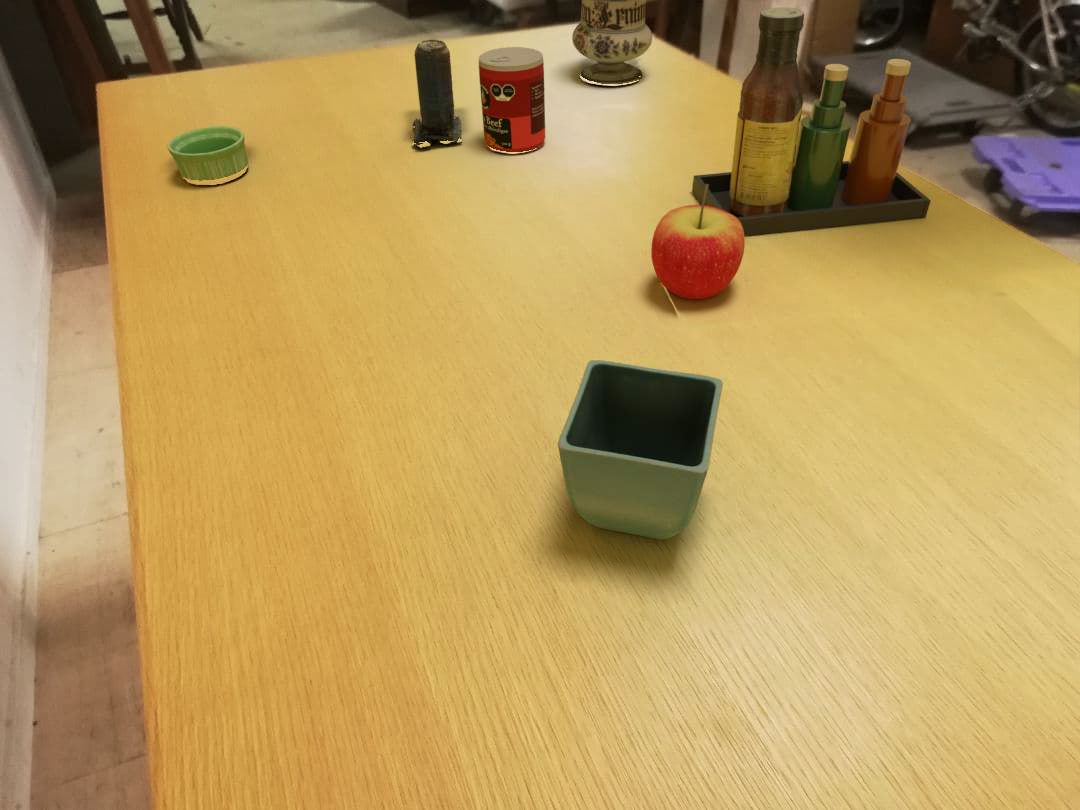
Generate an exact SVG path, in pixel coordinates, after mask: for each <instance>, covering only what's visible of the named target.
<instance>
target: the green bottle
mask: <svg viewBox="0 0 1080 810" xmlns="http://www.w3.org/2000/svg"><path fill="white" fill-rule="evenodd" d="M849 70H850V68H849V66H847V65H845V64H841V63H829V64H827V65H825V67H824V72H823V83H822V88H821V93H820V96H819V98H817V99H815V100H814V101H813V102H812V106H811V111H810V115H806V116H803V117H801V120H800V126H799V134H798V140H797V144H796V152H795V159H794V164H793V171H792V178H791V184H790V192H789V197H788V199H787V203H786V205H787V206H788V207H789V208H790V209H792V210H794V211H804V210H814V209H824V208H832V206H833V202H834V198H835V193H836V189H837V185H838V180H839V176H840V171H841V167H842V163H843V161H844V158H845V154H846V149H847V146H848V145H847V144H848V140H849V137H850V132H851V127H852V124H851V122H850V120H848V119H846V118H844V117H845V112H846V107H847V104H846V103H847V102H845V101H843V100H842V96H843V93H844V87H845V83H846V80H847V78H848V75H849Z"/></svg>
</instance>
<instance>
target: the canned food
mask: <svg viewBox="0 0 1080 810" xmlns="http://www.w3.org/2000/svg"><path fill="white" fill-rule="evenodd" d="M544 61H545V60H544V54H543V53H542V51H539V50H538V49H535V48H530V47H523V46H509V47H507V46H505V47H499V48H494V49H490V50H487V51H485V52H483V53H482V54H480V55H479V56H478V76H479V89H480V101H481V114H482V126H483V138H484V142H485V144H487V145H488V146H489V147H491V148H493V149H496V150H500V151H506V152H523V151H529V150H533V149H535V148H538V147H539V146H541V145H542V144H543V145H544V143H545V140H546V108H545V105H546V103H545V101H546V100H545V99H546V98H545V67H544V66H545V65H544V63H545V62H544ZM487 145H486V146H487ZM543 145H542V146H543ZM542 146H541V147H542Z"/></svg>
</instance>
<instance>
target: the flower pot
mask: <svg viewBox="0 0 1080 810" xmlns="http://www.w3.org/2000/svg"><path fill="white" fill-rule="evenodd" d="M722 391H723V380H722V379H720V378H716V377H713V376H709V375H703V374H696V373H690V372H679V371H673V370H666V369H660V368H653V367H647V366H639V365H635V364H629V363H622V362H616V361H609V360H603V359H592V360H589V361H588V362H587V364H586V366H585V370H584V371H583V375H582V378H581V380H580V383H579V387H578V388H577V393H576V395H575V398H574V400H573V402H572V406H571V408H570V410H569V413H568V416H567V418H566V421H565V424H564V425H563V428H562V430H561V433H560V434H559V437H558V441H557V448H558V452H559V453H558V454H559V458H560V465H561V468H562V476H563V481H564V485H565V489H566V493H567V496H568V499H569V501H570V503H571V505H572V506H573V508H574V510H575V511H576V512H577V513H578V515H579V516H581V518H583V520H585V521H586V522H588V523H589V524H591V525H592V526H593V527H595V528H599V529H604V530H608V531H612V532H613V531H614V532H620V533H625V534H630V535H635V536H639V535H640V536H639V537H644V538H650V539H653V540H659V541H662V540H667V539H670V538H672V537H675V536H677V535H678V534H679V533H681V532H682V531H683V530H684V529H685V528H686V527H687V526H688V525H689V524H690V522H691V521H692V519H693V516H694V514H695V512H696V509H697V506H698V503H699V499H700V496H701V493H702V490H703V488H704V484H705V481H706V477H707V474H708V471H709V468H710V465H711V456H712V449H713V443H714V437H715V429H716V424H717V419H718V418H717V417H718V412H719V407H720V402H721V396H722Z"/></svg>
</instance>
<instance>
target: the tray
mask: <svg viewBox="0 0 1080 810" xmlns="http://www.w3.org/2000/svg"><path fill="white" fill-rule="evenodd" d="M848 164H849V160H843V163H842V167H841V171H840V176H839V180H838V185H837V189H836V193H835V198H834V202H833V206H832V208H824V209H814V210H804V211H794V210H792V209H790V208H789V207H788V206H787V205H786V207H785V210H784V212H783V213H774V214H764V215H755V216H745V217H740V216H738V215H736V214H735V213H734V212H733V211H732V209H731V208H730V204H729V200H730V195H729V193H730V183H731V174H732V171H728V172H718V173H717V172H716V173H705V174H697V175H696V174H695V175H693V178H692V189H691V194H692V195H693V197H694V198H695V200H696V201H697V203H698V205H702V202H703V196H704V190H705V185H706V184H709V186H708V190H707V194H706V199H705V203H704V205H707V206H712V207H716V208H719V209H722V210H724V211H726V212H728V213H730V214H732V215H734V216H735V217H736V218H737V219H738V220H739V221H740V222H741V224H742V227H743V230H744V237H745V238H747V237H757V236H766V235H777V234H787V233H796V232H805V231H817V230H825V229H835V228H844V227H853V226H855V227H856V226H863V225H875V224H881V223H891V222H892V223H894V222H901V221H902V222H903V221H912V220H920V219H926V217H927V215H928V211H929V208H930V204H931V202H932V200H931V199H930V198H929V197H928V196H927V195H925V194H924V193H923V192H922V191H920V190H919V189H918V188H917V187H915V186H914V185H913V184H912V183H911V182H910V181H908V180H907V179H906V178H904V176H902V175H901V174H900V173H899V172H897V173H896V176H895V180H894V183H893V187H892V191H891V194H890V198H889V201H888V202H883V203H873V204H864V205H854V206H853V205H850V204H848V203H846V202H845V201H844V200H843V199H842V198H841V194H842V189H843V185H844V181H845V177H846V172H847V168H848Z"/></svg>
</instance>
